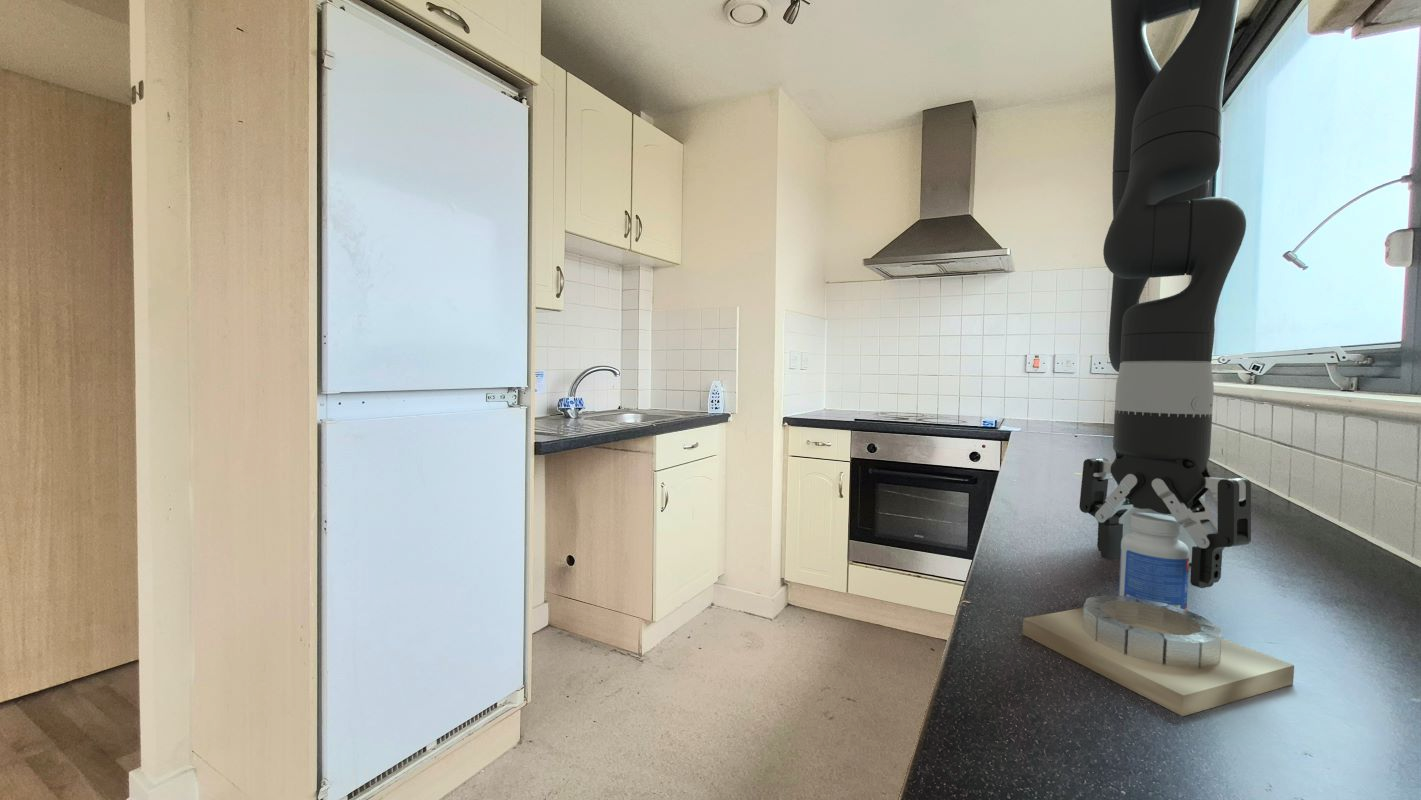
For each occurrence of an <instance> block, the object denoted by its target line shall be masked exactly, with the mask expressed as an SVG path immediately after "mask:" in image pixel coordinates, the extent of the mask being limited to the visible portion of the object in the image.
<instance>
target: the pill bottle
mask: <svg viewBox="0 0 1421 800" xmlns="http://www.w3.org/2000/svg"><path fill="white" fill-rule="evenodd" d="M1130 528H1131V529H1133V533H1131V534H1127V535H1125V536H1124V537H1123V538H1122V540H1121V555H1120V558H1119V577H1118V578H1119V579H1118V580H1119V581H1118V596H1128V597H1135V598H1136V597H1137V598H1142V599H1147V600H1151V601H1156V602H1161V603H1165V604H1167V605H1172V606H1175V607H1178V608H1181V609H1184V610H1186V611H1188V592H1189V591H1188V590H1189V589H1188V588H1189V568H1190V563H1189V549H1188V547H1187V545H1186V544H1185V543H1183V542H1182V541H1180V540H1178V536H1179V535H1181V532H1182V531H1181V525H1180V524H1179V523H1178V522H1177V521H1176V519H1175V518H1174V517H1171V516H1167V515H1161V514H1153V513H1132V514H1131V518H1130Z"/></svg>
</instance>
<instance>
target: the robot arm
mask: <svg viewBox="0 0 1421 800" xmlns="http://www.w3.org/2000/svg"><path fill="white" fill-rule="evenodd" d="M1239 3H1240V0H1110V11H1111V14H1110V15H1111V29H1112V31H1111V32H1112V48H1113V49H1112V50H1113V51H1112V52H1113V65H1114V66H1113V69H1114V90H1115V91H1114V93H1115V95H1114V96H1115V99H1114V100H1115V101H1114V102H1115V103H1114V104H1115V105H1114V107H1115V108H1114V131H1113V155H1112V187H1111V188H1112V189H1111V190H1112V197H1111V198H1112V217H1113V218H1112V221H1111V223H1110V225H1109V227H1108V230H1107V233H1106V236H1105V239H1104V244H1103V252H1102V253H1103V260H1104V263H1105V265H1106V267H1107V269H1108V270H1109V271H1110V273H1111V274H1113V275H1112V286H1111V287H1112V289H1111V300H1110V303H1111V304H1110V315H1109V326H1108V327H1109V328H1108V356H1109V358H1108V359H1109V361H1110V364H1111V367H1112V368H1113V369H1114V371H1115V372H1117V373H1118V375H1117V377H1116V378H1117V379H1116V382H1115V383H1116V384H1115V395H1114V396H1115V400H1114V418H1113V435H1112V436H1113V440H1112V449H1113V451H1114V452H1115V458H1114V459H1113V461H1109V459H1107V458H1103V457H1098V458H1097V457H1096V458H1093V457H1092V458H1087V459H1085V460H1084V461H1083V464H1082V465H1083V467H1082V475H1081V476H1082V477H1081V484H1080V485H1081V487H1080V497H1079V510H1080V512H1082V513H1084V514H1089V515H1091V516H1092V517H1094V519H1095V520H1096V521H1097V525H1098V526H1097V541H1096V542H1097V544H1096V545H1097V549H1098V552H1100V556H1101V558H1103V559H1106V560H1109V561H1112V560H1118V559H1119V560H1120V555H1121V540H1122V538H1123V537H1124V536H1125V535H1127V534H1131V533H1133V529H1131V528H1130V518H1131V514H1132V513H1153V514H1161V515H1167V516H1171V517H1174V518H1175V519H1176V521H1177V522H1178V523H1179V524H1180V525H1181V531H1182V532H1181V535H1179V536H1178V540H1180V541H1182V542H1183V543H1185V544H1186V545H1187V547H1188V549H1189V564H1190V580H1189V581H1190V582H1189V583H1190V585H1191V586H1193V587H1197V588H1200V589H1204V588H1210V587H1213V585H1214V584H1215V583H1219V581H1220V580H1221V578H1222V563H1223V562H1222V561H1223V551H1224V549H1225V548H1231V547H1232V548H1233V547H1239V546H1246V545H1249V544H1250V543H1251V542H1252V483H1251V481H1250V480H1248V479H1247V478H1245V477H1236V478H1235V477H1233V478H1222V477H1214V476H1211V473H1210V472H1209V470H1208V469H1209V468H1208V462H1209V459H1210V456H1211V446H1212V445H1211V443H1212V441H1211V440H1212V428H1213V427H1212V425H1213V424H1212V423H1213V409H1214V408H1213V405H1214V404H1213V403H1214V390H1215V389H1214V378H1213V368H1212V366H1213V365H1212V364H1213V363H1212V361H1213V360H1212V359H1213V352H1214V351H1213V349H1214V342H1215V332H1216V331H1215V328H1216V327H1215V325H1216V324H1215V322H1216V321H1215V319H1216V314H1217V309H1218V304H1219V301H1220V297H1221V294H1222V291H1223V288H1224V285H1225V282H1226V281H1227V278H1228V276H1229V273H1230V271H1231V269H1232V266H1233V264H1234V261H1235V260H1236V257H1237V256H1238V253H1239V250H1240V249H1241V246H1242V243H1243V241H1244V238H1245V234H1246V230H1247V229H1246V228H1247V219H1246V215H1245V213H1244V210H1243V209H1242V207H1241V206H1240V205H1239V204H1238V202H1236V201H1235V200H1233V199H1232V198H1229V197H1226V196H1210V197H1208V194H1209V189H1210V179H1211V178H1213V177H1214V176H1215V175H1216V173H1217V171H1218V169H1219V167H1220V162H1221V154H1222V152H1221V151H1222V148H1221V146H1222V124H1223V123H1222V118H1223V117H1222V116H1223V115H1222V114H1223V111H1222V110H1223V94H1224V85H1225V84H1224V83H1225V78H1226V72H1227V67H1228V61H1229V56H1230V52H1231V47H1232V42H1233V38H1234V33H1235V27H1236V21H1237V16H1238V10H1239V5H1240V4H1239ZM1195 10H1198V12H1197V14H1196V17H1195V19H1194V21H1193V24H1192V25H1191V27H1190V29H1189V30H1188V32H1187V33H1186V35H1185V36H1184V38H1183V39H1182V41H1181V43H1179V45H1178V46H1177V48H1176V49H1175V51H1174V52H1173V53H1172V54H1171V55H1170V57H1169V58H1168V60H1167V61H1166V62H1165V64H1163V66H1162V68H1161V67H1160V65H1159V64H1158V61H1157V60H1156V58H1155V57H1154V55H1153V53H1152V50H1151V47H1150V45H1149V41H1148V37H1147V32H1146V29H1147V26H1148V25H1150V24H1153V23H1156V22H1160V21H1163V20H1166V19H1169V18H1172V17H1173V18H1174V17H1176V16H1179V15H1182V14H1186V13H1188V12H1192V11H1195ZM1180 276H1190V277H1191V279H1190V282H1189V284H1188V285H1187V286H1186V287H1185V288H1184V289H1183V290H1181V291H1179V292H1178V293H1176V294H1173V295H1170V296H1166V297H1163V298H1158V299H1154V300H1149V301H1143V302H1140V299H1141V296H1142V293H1143V291H1144V289H1145V286H1146V284H1147V282H1148V281H1149V279H1150V278H1165V277H1166V278H1167V277H1180ZM1112 477H1113V479H1114V490H1113V491H1112V492H1111V493H1110V494H1109V495H1108V488H1109V487H1108V486H1109V480H1110V479H1111V478H1112ZM1208 491H1210V492H1211V496H1212V498H1213V499H1214V500H1215V502H1217V524H1216V521H1215V520H1214V519H1215V516H1214V514H1213V512H1212V511H1211V509H1210V508H1209V507H1208V505H1207V504H1206V502H1205V501H1206V500H1205V499H1206V496H1205V495H1206V493H1207V492H1208Z"/></svg>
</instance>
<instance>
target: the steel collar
mask: <svg viewBox="0 0 1421 800" xmlns="http://www.w3.org/2000/svg"><path fill="white" fill-rule="evenodd" d="M1082 606H1083V607H1082V608H1083V627H1082V628H1083V630H1084V631H1085V632H1087V633H1088V634H1089V635H1090V636H1091V637H1092V638H1093V639H1094V640H1095V641H1097V642H1098V643H1101V644H1103V645H1105V646H1107V647H1109V648H1111V649H1114V650H1116V651H1118V652H1120V653H1122V654H1127V656H1131V657H1135V658H1139V659H1142V660H1146V661H1150V662H1153V663H1157V664H1161V665H1162V664H1164V665H1166V666H1176V667H1187V668H1197V669H1198V668H1205V667H1209V666H1213V665H1217V664H1219V663H1220V655H1221V638H1222V630H1221V628H1220V626H1218V625H1217V624H1215V623H1213V622H1212V621H1210V620H1208V619H1207V618H1205V617H1204V616H1202V615H1199V614H1197V613H1195V612H1191V611H1189V610H1187V611H1186V610H1184V609H1181V608H1178V607H1175V606H1172V605H1167V604H1165V603H1161V602H1156V601H1151V600H1147V599H1142V598H1137V597H1136V598H1135V597H1128V596H1119V595H1111V594H1107V595H1105V594H1103V595H1098V596H1097V595H1096V596H1090V597H1087V598H1086V600H1085V602H1084V604H1083V605H1082ZM1126 623H1134V624H1140V625H1145V626H1149V627H1153V628H1157V629H1161V630H1164V631H1167V632H1169V633H1172V634H1164V633H1158V632H1154V631H1149V630H1145V629H1141V628H1137V627H1133V626H1130V625H1128V624H1126Z"/></svg>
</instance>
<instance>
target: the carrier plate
mask: <svg viewBox="0 0 1421 800" xmlns="http://www.w3.org/2000/svg"><path fill="white" fill-rule="evenodd" d="M1022 621H1023V622H1022V635H1024V636H1025V637H1027V638H1030V639H1031V640H1033V641H1035V642H1037V643H1039V644H1040V645H1043V646H1045V647H1047V648H1048V649H1050V650H1052V651H1054V652H1056V653H1057V654H1060V655H1062V656H1064V657H1066V658H1068V659H1069V660H1072V661H1074V662H1076V663H1078V664H1080V665H1082V666H1083V667H1085V668H1087V669H1089V670H1091V671H1093V672H1094V673H1098V674H1099V675H1101V676H1103V677H1105V678H1107V679H1108V680H1110V681H1113V682H1115V683H1117V684H1119V685H1120V686H1123V687H1125V689H1128V690H1130V691H1132V692H1133V693H1136V694H1138V695H1140V696H1142V697H1144V698H1146V699H1148V700H1150V701H1151V702H1154V703H1155V704H1158V705H1160V706H1161V707H1163V708H1165V709H1167V710H1169V711H1171V712H1173V713H1175V714H1177V715H1179V716H1180V717H1186V716H1189V715H1191V714H1192V715H1193V714H1196V713H1199V712H1203V711H1206V710H1209V709H1212V708H1216V707H1219V706H1223V705H1226V704H1230V703H1233V702H1234V703H1235V702H1236V701H1241V700H1243V699H1247V698H1250V697H1253V696H1257V695H1261V694H1264V693H1268V692H1271V691H1274V690H1277V689H1281V688H1285V687H1288V686H1292V685H1293V684H1294V678H1295V677H1294V674H1295V665H1294V664H1293V663H1289V662H1287V661H1284V660H1282V659H1278V658H1276V657H1274V656H1271V655H1268V654H1265V653H1263V652H1260V651H1257V650H1255V649H1252V648H1250V647H1246V646H1245V645H1241V644H1238V643H1236V642H1233V641H1231V640H1228V639H1225V638H1223V637H1221V655H1220V663H1219V664H1217V665H1213V666H1209V667H1205V668H1198V669H1197V668H1187V667H1176V666H1166V665H1164V664H1162V665H1161V664H1157V663H1153V662H1150V661H1146V660H1142V659H1139V658H1135V657H1131V656H1127V654H1122V653H1120V652H1118V651H1116V650H1114V649H1111V648H1109V647H1107V646H1105V645H1103V644H1101V643H1098V642H1097V641H1095V640H1094V639H1093V638H1092V637H1091V636H1090V635H1089V634H1088V633H1087V632H1085V631H1084V630H1083V628H1082V627H1083V607H1079V608H1074V609H1068V610H1063V611H1058V612H1051V613H1045V614H1040V615H1034V616H1029V617H1024V618H1023V620H1022ZM1126 624H1128V625H1130V626H1133V627H1137V628H1141V629H1145V630H1149V631H1154V632H1158V633H1164V634H1172V633H1169V632H1167V631H1164V630H1161V629H1157V628H1153V627H1149V626H1145V625H1140V624H1134V623H1126Z"/></svg>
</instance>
